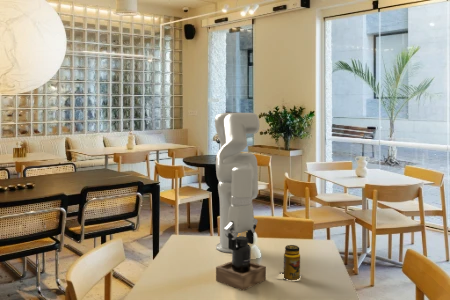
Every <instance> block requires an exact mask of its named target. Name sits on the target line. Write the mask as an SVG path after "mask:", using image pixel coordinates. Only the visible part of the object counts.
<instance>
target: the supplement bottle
mask: <svg viewBox="0 0 450 300" xmlns="http://www.w3.org/2000/svg"><path fill="white" fill-rule="evenodd" d="M235 239H236V250H235V251H234V250H232V252H231V254H232V255H231V261H232V270H233V271H235V272H248V271H249V270H250V262H252V261H251V254H252V252H251V251H252V250H251V245H250V244H249V243H248V238H247V237H245V235H244V236H242V235H241V236H239V237H236V238H235Z"/></svg>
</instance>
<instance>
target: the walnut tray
mask: <svg viewBox="0 0 450 300" xmlns="http://www.w3.org/2000/svg"><path fill="white" fill-rule="evenodd" d="M266 280H267V267H266V266H265V265H262V264H259V263H256V262H252V261H251V262H250V270H249V271H248V272H235V271H233V270H232V260H231V261H228V262H225V263H223V264H220V265H218V266H216V267H215V281H216V282H219V283H220V284H224V285H227V286H229V287H233V288H235V289H238V290H240V289H241V291H245V290H246V289H249V288H251V286H252V287H254V286H256V285H258V284H260V282H261V283H263V282H265V281H266ZM262 281H263V282H262Z"/></svg>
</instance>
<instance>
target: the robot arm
mask: <svg viewBox="0 0 450 300" xmlns="http://www.w3.org/2000/svg"><path fill="white" fill-rule="evenodd" d="M214 126H215V130H216V134H217V136H218V139H219V143H220V148H219V150H218V151H217V154H216V157H215V171H216V172H215V173H216V178H217V180H218V184H217V190H218V191H217V192H218V197H219V243H217V244H216V245H215V246H216V250H217V251H219V252H223V253H232V250H234V251H235V250H236V239H235V238H236V237H237V235H238V233H241V234H242V233H245V236H246V237H247V238H248V244H249V245H254V243H255V242H254V240H255V238H254V235H255V232H256V228H257V224H258V221H259V220H258V219H257V218H255V215H254V206H253V200H254V199H256V198H257V197H258V194H259V173H258V171H259V170H258V169H259V168H258V159H257V157H256V155H255V154H254V153H252V152H243V151H244V150H246V148H247V146H248V140H247V135H248V134H249V135H252V134H253V135H256V134H257V133H259V130H260V120H259V117H258V115H257V114H256V113H255V112H221V113H218V114H217V115H216V116H215V118H214Z"/></svg>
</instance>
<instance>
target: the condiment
mask: <svg viewBox="0 0 450 300" xmlns="http://www.w3.org/2000/svg"><path fill="white" fill-rule="evenodd" d="M300 272H301V254H300V246H298V245H296V244H295V245H294V244H289V245H288V244H287V245H286V246H285V247H284V253H283V271H279V274H281V273H282V274H284V278H285V279H288V280H297V279H299V278H300V276H301V277H302V276H303V274H301V273H300ZM279 274H278V275H279Z"/></svg>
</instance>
